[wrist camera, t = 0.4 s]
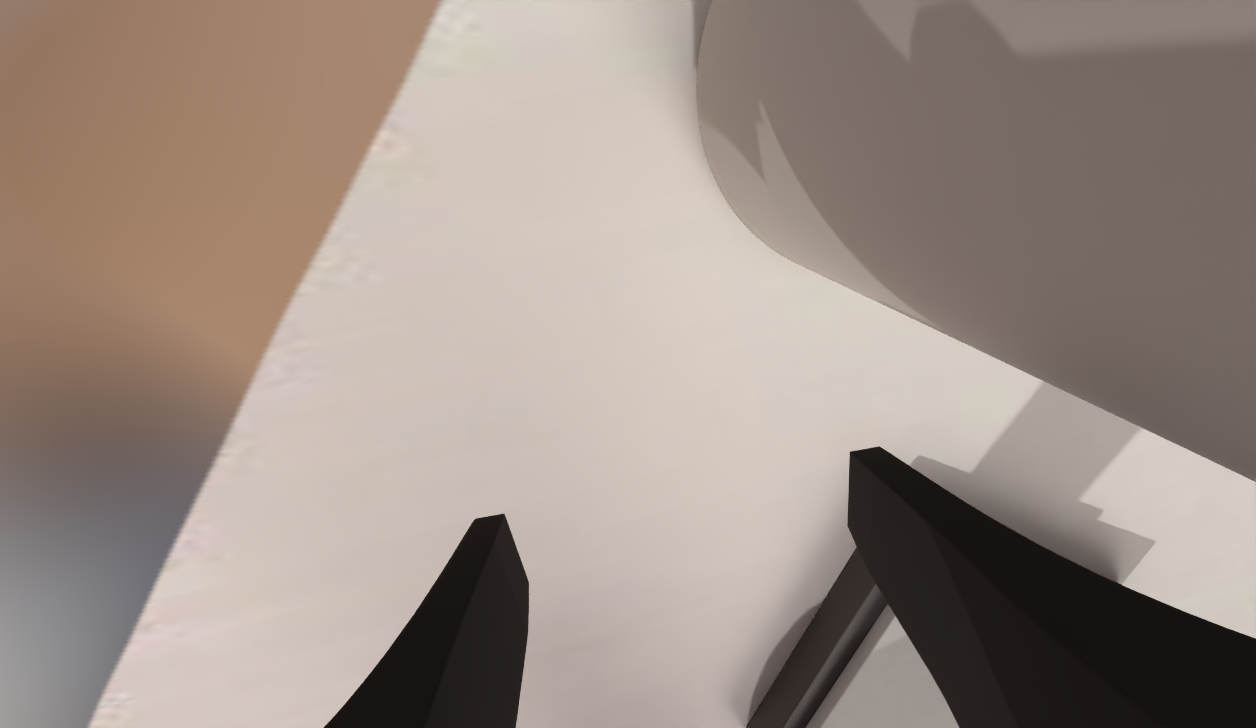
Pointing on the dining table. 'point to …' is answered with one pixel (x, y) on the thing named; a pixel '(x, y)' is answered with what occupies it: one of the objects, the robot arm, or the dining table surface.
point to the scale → (854, 668)
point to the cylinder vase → (1016, 183)
